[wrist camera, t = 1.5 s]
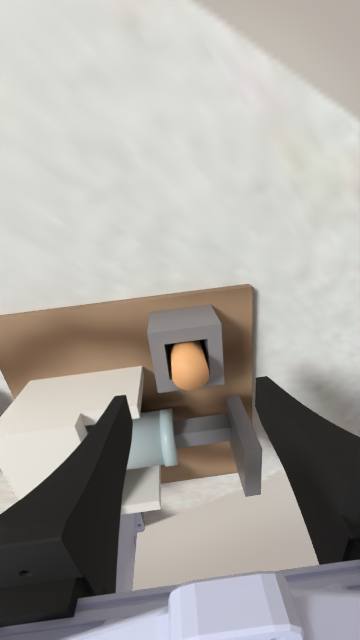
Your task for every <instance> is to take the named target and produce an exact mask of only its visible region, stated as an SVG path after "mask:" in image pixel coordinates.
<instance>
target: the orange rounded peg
mask: <svg viewBox="0 0 360 640" xmlns="http://www.w3.org/2000/svg"><path fill="white" fill-rule="evenodd" d="M170 352H171V367H172V379H173V382H174V384H175V385H176V386H177V387H179V388H180V389H183V390H188V391H191V390H196V389H199V388H201V387H202V386H204V385H205V384H206V382H207V381H208V379H209V369H208V366H207V363H206V359H205V356H204V353H203V350H202V346H201V343H200V340H195V341H187V342H179V343H172V344H170Z"/></svg>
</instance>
